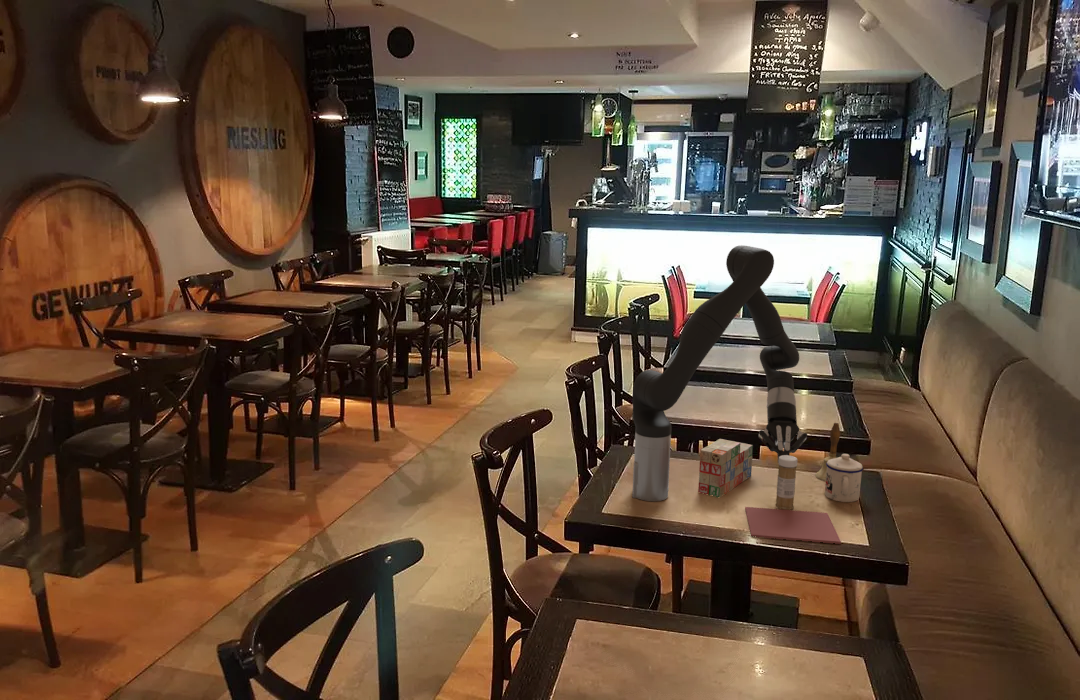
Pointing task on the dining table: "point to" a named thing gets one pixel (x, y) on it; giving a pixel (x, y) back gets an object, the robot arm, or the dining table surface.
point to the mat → (791, 525)
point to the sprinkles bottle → (786, 482)
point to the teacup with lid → (843, 479)
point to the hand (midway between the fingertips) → (784, 465)
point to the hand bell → (834, 440)
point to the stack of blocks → (724, 466)
